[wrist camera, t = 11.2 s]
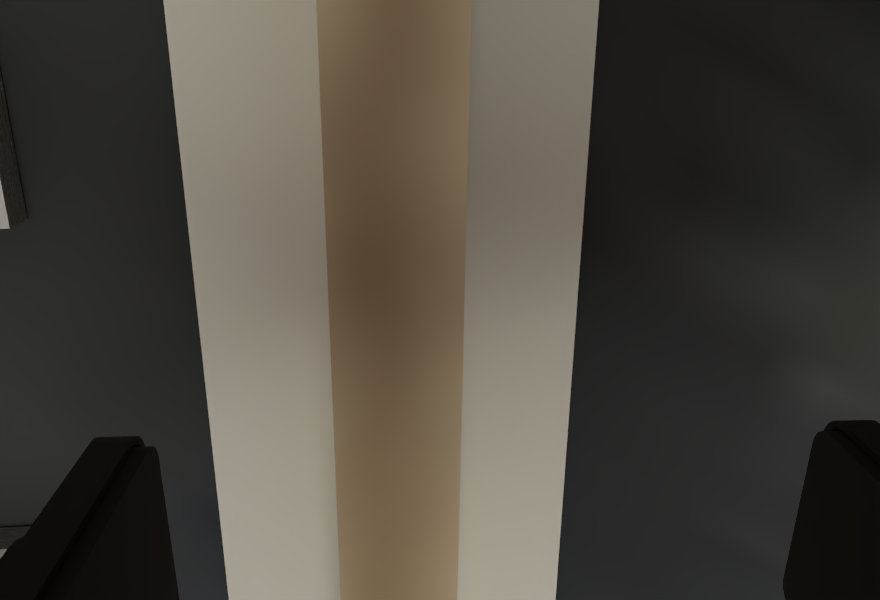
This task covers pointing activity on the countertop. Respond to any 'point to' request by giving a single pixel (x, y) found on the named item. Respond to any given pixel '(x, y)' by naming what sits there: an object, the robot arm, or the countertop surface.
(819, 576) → the robot arm
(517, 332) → the grey mat
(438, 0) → the beech rail
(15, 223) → the metal standards
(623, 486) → the countertop surface
